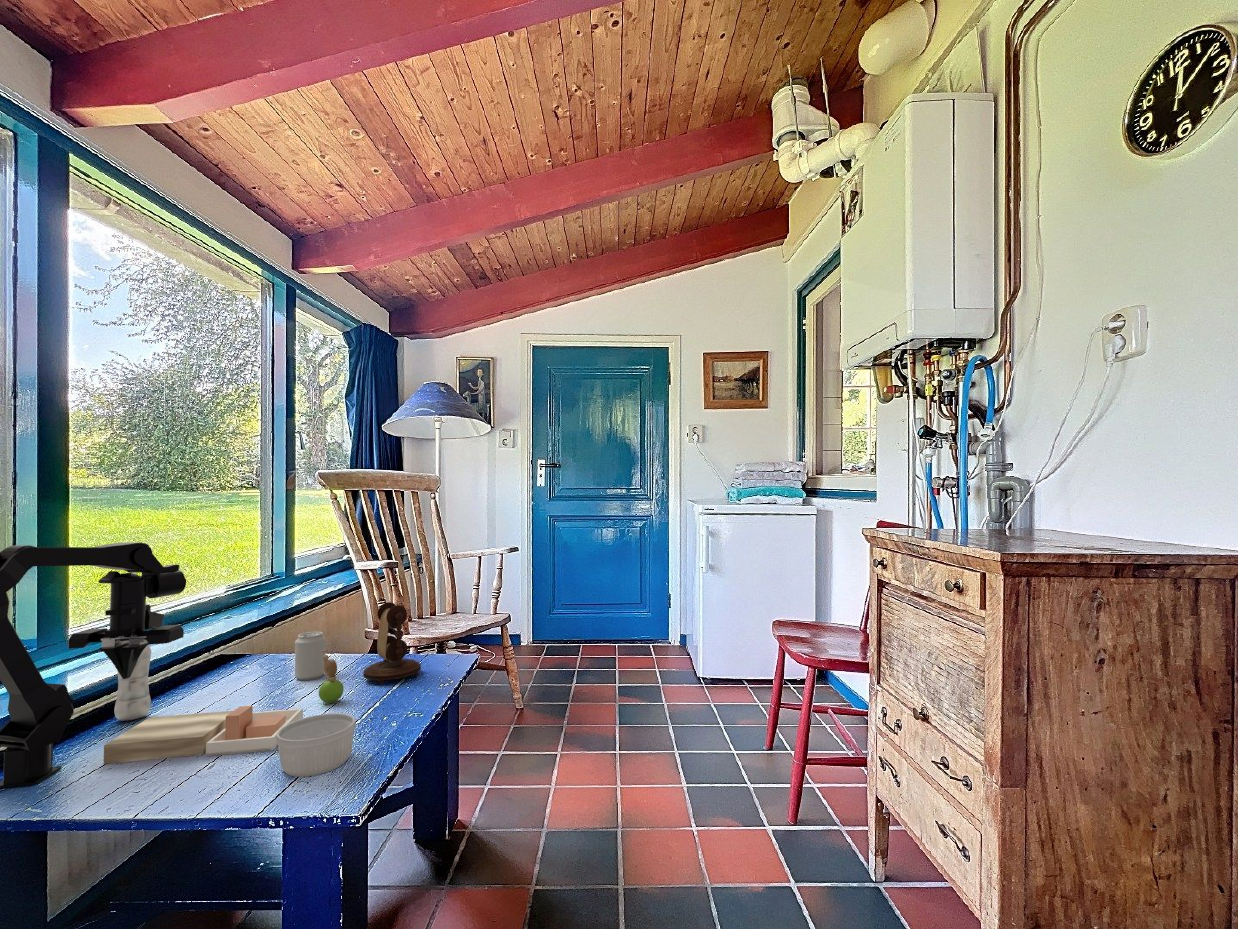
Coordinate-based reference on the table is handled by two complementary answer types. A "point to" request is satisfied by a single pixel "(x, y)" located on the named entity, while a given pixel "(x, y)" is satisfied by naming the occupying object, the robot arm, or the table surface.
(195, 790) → the table surface
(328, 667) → the green maraca
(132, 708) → the plastic bottle
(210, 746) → the tray
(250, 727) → the tile
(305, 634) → the can
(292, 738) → the ramekin
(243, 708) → the tile
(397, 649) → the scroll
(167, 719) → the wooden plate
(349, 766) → the table surface
